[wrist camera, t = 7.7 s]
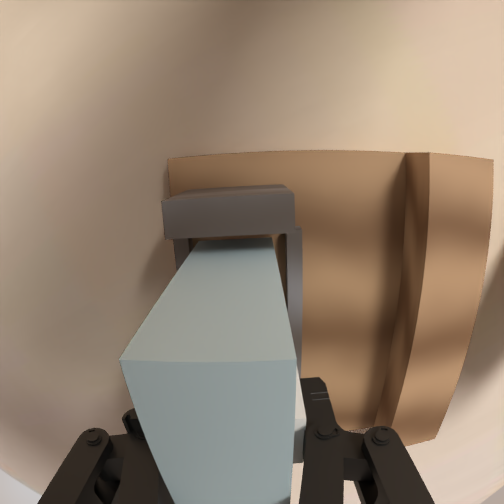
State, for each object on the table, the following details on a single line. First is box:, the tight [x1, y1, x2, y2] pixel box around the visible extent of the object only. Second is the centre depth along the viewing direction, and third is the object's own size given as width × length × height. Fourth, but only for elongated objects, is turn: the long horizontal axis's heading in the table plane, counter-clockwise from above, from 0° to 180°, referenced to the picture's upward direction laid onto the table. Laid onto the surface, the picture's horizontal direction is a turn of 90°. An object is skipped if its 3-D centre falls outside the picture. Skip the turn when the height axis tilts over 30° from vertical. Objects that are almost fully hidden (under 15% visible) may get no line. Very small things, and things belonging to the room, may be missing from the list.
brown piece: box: [161, 150, 493, 446], centre depth 17 cm, size 20×18×6 cm
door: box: [119, 237, 297, 504], centre depth 12 cm, size 12×4×10 cm, turn 3°
